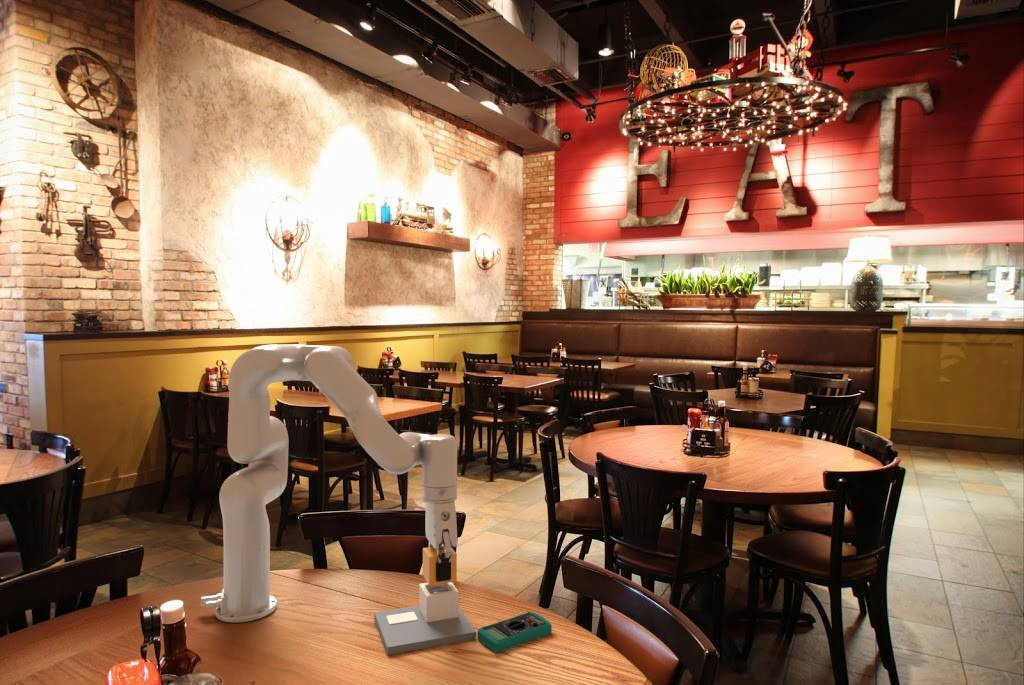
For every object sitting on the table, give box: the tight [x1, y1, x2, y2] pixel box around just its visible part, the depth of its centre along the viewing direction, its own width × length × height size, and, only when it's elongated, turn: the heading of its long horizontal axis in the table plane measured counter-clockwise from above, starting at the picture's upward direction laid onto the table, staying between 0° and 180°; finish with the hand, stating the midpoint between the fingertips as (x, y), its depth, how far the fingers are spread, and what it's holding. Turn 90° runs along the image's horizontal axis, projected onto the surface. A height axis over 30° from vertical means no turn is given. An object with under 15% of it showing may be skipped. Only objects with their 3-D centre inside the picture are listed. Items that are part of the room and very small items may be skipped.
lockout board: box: [373, 582, 477, 656], centre depth 130 cm, size 18×16×7 cm
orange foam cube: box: [422, 545, 458, 586], centre depth 134 cm, size 6×6×6 cm
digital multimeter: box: [476, 611, 553, 654], centre depth 127 cm, size 7×15×3 cm, turn 127°
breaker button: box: [429, 588, 449, 594], centre depth 134 cm, size 4×4×4 cm
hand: (439, 573), depth 134 cm, fingers closed on orange foam cube, 6 cm apart
